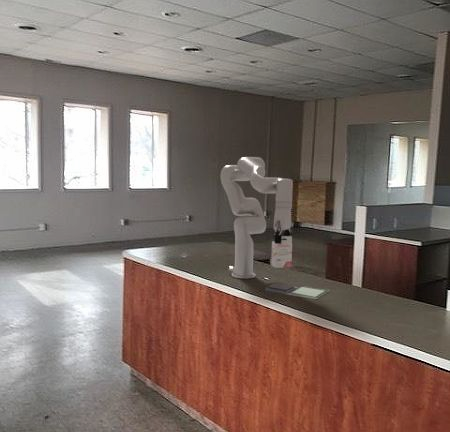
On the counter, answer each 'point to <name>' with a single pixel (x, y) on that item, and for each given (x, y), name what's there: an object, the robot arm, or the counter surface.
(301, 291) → the marked card
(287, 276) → the counter surface
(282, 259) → the ink cartridge box
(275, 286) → the ink pad
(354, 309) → the counter surface
